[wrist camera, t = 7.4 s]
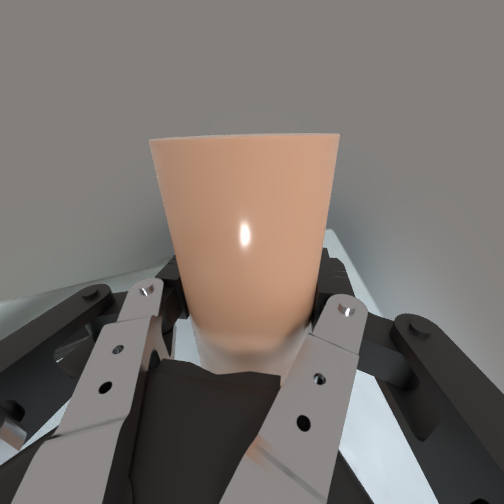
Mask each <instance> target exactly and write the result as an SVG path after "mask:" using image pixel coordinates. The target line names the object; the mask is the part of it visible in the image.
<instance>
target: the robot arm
mask: <svg viewBox="0 0 504 504" xmlns="http://www.w3.org/2000/svg"><path fill="white" fill-rule="evenodd" d="M188 317H189V311H188V307H187V302H186V298H185V294H184V290H183V285H182V281H181V277H180V273H179V268H178V264H177V260H176V256H174V257H173V258H172V260H170V261H169V262H168V264H166V266H165V267H164V268H163V269H162V270H161V271H160V272H159V273H158V274H157V275H156V276H155V278H148V279H144V280H141V281H139V282H137V283H135V284H134V285H133V286H132V287H131V288H130V289H129V291H127V292H120V293H112V291H111V289H110V287H109V286H108V285H106V284H97V285H92V286H89V287H86V288H84V289H82V290H80V291H79V292H77V293H76V294H74V295H72V296H71V297H69V298H68V299H66V300H65V301H63V302H61V303H60V304H58V305H57V306H55V307H53V308H52V309H50V310H49V311H47V312H46V313H44V314H42V315H41V316H39V317H38V318H36V319H34V320H33V321H31V322H30V323H28V324H27V325H25V326H23V327H22V328H20V329H19V330H17V331H15V332H14V333H12V334H11V335H9V336H8V337H6V338H4V339H3V340H1V341H0V504H374V502H373V501H372V499H371V498H370V496H369V495H368V493H367V492H366V490H365V489H364V487H363V486H362V484H361V483H360V481H359V480H358V478H357V477H356V475H355V473H354V472H353V470H352V469H351V467H350V466H349V464H348V463H347V461H346V460H345V458H344V457H343V455H342V454H341V452H340V451H339V449H338V448H339V444H340V440H341V435H342V431H343V426H344V422H345V418H346V413H347V409H348V404H349V400H350V396H351V391H352V387H353V383H354V378H355V374H356V369H358V370H360V371H363V372H365V373H367V374H370V375H372V376H374V377H375V379H376V381H377V383H378V385H379V387H380V389H381V391H382V393H383V395H384V397H385V399H386V401H387V403H388V405H389V406H390V408H391V410H392V412H393V414H394V416H395V418H396V420H397V422H398V424H399V426H400V428H401V430H402V432H403V434H404V436H405V438H406V440H407V442H408V444H409V446H410V448H411V450H412V452H413V453H414V455H415V457H416V459H417V461H418V463H419V465H420V467H421V469H422V471H423V473H424V475H425V477H426V479H427V481H428V483H429V485H430V487H431V489H432V491H433V493H434V495H435V497H436V499H437V500H438V502H439V504H504V394H503V393H502V392H501V391H500V390H499V389H498V388H497V387H496V386H495V385H494V384H493V383H492V382H491V381H490V380H489V379H488V378H487V377H486V375H485V374H484V373H483V372H482V371H481V370H480V369H479V368H478V367H477V366H476V365H475V364H474V363H473V362H472V361H471V360H470V359H469V358H468V357H467V356H466V355H465V354H464V353H463V352H462V350H461V349H460V348H459V347H458V346H457V345H456V344H455V343H454V342H453V341H452V340H451V339H450V338H449V337H448V336H447V335H446V334H445V333H444V332H443V331H442V330H441V329H440V328H439V327H438V326H437V325H436V324H434V323H433V322H431V321H430V320H428V319H426V318H424V317H421V316H418V315H414V314H401V315H399V316H397V317H396V318H395V320H394V321H392V320H389V319H385V318H382V317H379V316H377V315H374V314H372V313H370V312H368V309H367V307H366V306H365V304H364V303H363V302H362V301H360V300H359V299H357V298H356V297H355V295H354V292H353V289H352V286H351V283H350V281H349V278H348V275H347V272H346V269H345V267H344V264H343V263H342V262H341V261H340V260H339V259H338V258H329V254H328V250H327V248H322V254H321V260H320V267H319V273H318V279H317V286H316V292H315V298H314V305H313V311H312V318H311V328H312V334H311V333H309V334H308V335H307V336H306V338H305V340H304V342H303V344H302V346H301V348H300V350H299V352H298V354H297V356H296V358H295V360H294V362H293V364H292V366H291V368H290V370H289V372H288V374H287V376H286V379H285V381H284V383H283V385H282V386H280V383H281V376H280V375H273V374H266V373H259V372H253V371H246V372H237V373H228V374H214V373H212V372H210V371H208V370H205V369H203V368H201V367H199V366H197V365H195V364H193V363H191V362H185V361H178V360H174V354H175V341H176V324H175V322H176V321H177V319H178V318H180V319H187V318H188ZM84 326H85V327H86V329H87V330H88V332H89V334H90V336H89V337H88V338H87V339H86V340H84V341H83V342H82V343H81V344H80V345H78V346H77V347H76V348H75V349H74V350H72V351H71V352H70V353H69V354H68V355H66V356H65V357H64V358H63V359H62V360H60V361H59V362H58V363H57V362H56V361H55V359H54V352H55V350H56V349H57V348H58V346H59V345H61V344H62V343H63V342H64V341H66V340H67V339H68V338H70V337H71V336H72V335H73V334H75V333H76V332H77V331H79V330H80V329H81V328H82V327H84ZM70 398H71V399H70ZM69 399H70V402H69V404H68V406H67V408H66V411H65V413H64V415H63V417H62V419H61V422H60V424H59V425H58V426H57V427H55V428H54V429H53V430H51V431H50V432H48V433H47V434H45V435H44V436H42V437H41V438H39V439H38V440H36V441H35V442H33V443H32V444H31V445H29V446H28V447H26V448H25V449H23V450H22V451H20V449H21V448H22V446H23V445H24V444H25V443H26V442H27V441H28V440H29V439H30V438H31V437H32V436H33V435H34V434H35V433H36V432H37V431H38V430H39V429H40V428H41V427H42V426H43V425H44V424H45V423H46V422H47V421H48V420H49V419H50V418H51V417H52V416H53V415H54V414H55V413H56V412H57V411H58V410H59V409H60V408H61V407H62V406H63V405H64V404H65V403H66V402H67V401H68V400H69Z"/></svg>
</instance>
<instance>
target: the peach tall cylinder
mask: <svg viewBox="0 0 504 504" xmlns="http://www.w3.org/2000/svg"><path fill="white" fill-rule="evenodd" d="M339 138H340V134H333V133H278V134H277V133H274V134H273V133H272V134H237V135H236V134H235V135H208V136H190V137H189V136H187V137H171V138H158V139H150V140H149V145H150V149H151V153H152V157H153V162H154V166H155V170H156V175H157V179H158V183H159V187H160V191H161V196H162V200H163V204H164V208H165V213H166V217H167V221H168V225H169V230H170V234H171V238H172V243H173V247H174V251H175V256H176V260H177V264H178V268H179V273H180V277H181V281H182V285H183V290H184V294H185V298H186V302H187V307H188V311H189V315H190V319H191V324H192V328H193V332H194V337H195V341H196V345H197V349H198V354H199V358H200V362H201V366H202V368H203V369H205V370H208V371H210V372H212V373H214V374H228V373H237V372H246V371H253V372H259V373H266V374H273V375H280V376H281V383H280V386H282V385H283V383H284V381H285V379H286V376H287V374H288V372H289V370H290V368H291V366H292V364H293V362H294V360H295V358H296V356H297V354H298V352H299V350H300V348H301V346H302V344H303V342H304V340H305V338H306V336H307V335H308V334H309V331H310V325H311V318H312V311H313V305H314V298H315V292H316V286H317V279H318V273H319V267H320V260H321V254H322V248H323V241H324V235H325V228H326V222H327V215H328V209H329V202H330V196H331V190H332V183H333V177H334V171H335V164H336V157H337V151H338V144H339Z"/></svg>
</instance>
